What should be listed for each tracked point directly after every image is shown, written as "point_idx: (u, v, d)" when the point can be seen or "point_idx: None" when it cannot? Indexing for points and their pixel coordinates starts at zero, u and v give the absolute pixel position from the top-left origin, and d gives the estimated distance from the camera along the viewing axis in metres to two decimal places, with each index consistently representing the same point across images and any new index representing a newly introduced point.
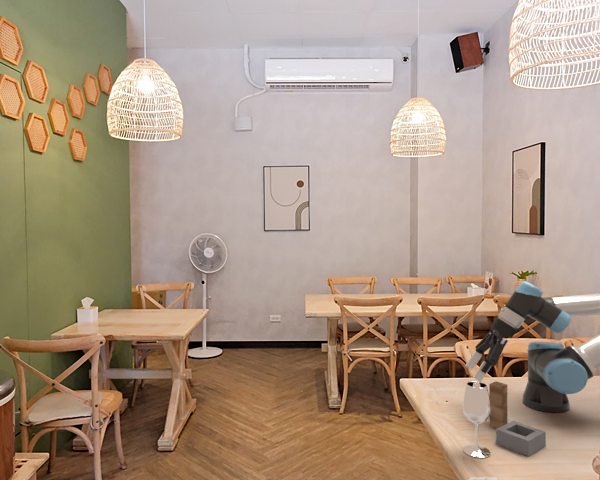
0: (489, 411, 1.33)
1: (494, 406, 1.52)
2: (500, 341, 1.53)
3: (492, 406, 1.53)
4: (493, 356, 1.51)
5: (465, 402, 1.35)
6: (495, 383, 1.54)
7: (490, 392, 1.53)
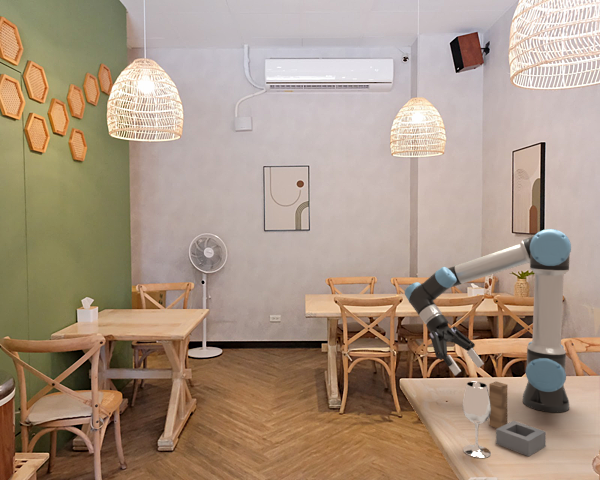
0: (489, 411, 1.33)
1: (494, 406, 1.52)
2: (431, 337, 1.66)
3: (492, 407, 1.53)
4: (435, 351, 1.62)
5: (465, 402, 1.35)
6: (495, 383, 1.54)
7: (490, 392, 1.53)
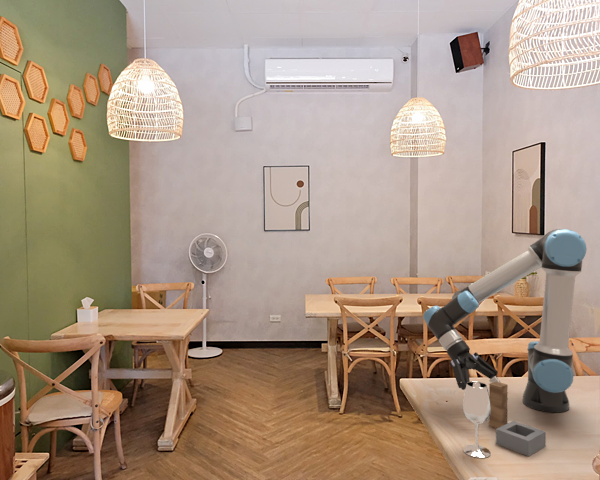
0: (489, 411, 1.33)
1: (494, 406, 1.52)
2: (452, 365, 1.59)
3: (492, 406, 1.53)
4: (457, 380, 1.54)
5: (465, 402, 1.35)
6: (495, 383, 1.54)
7: (490, 392, 1.53)
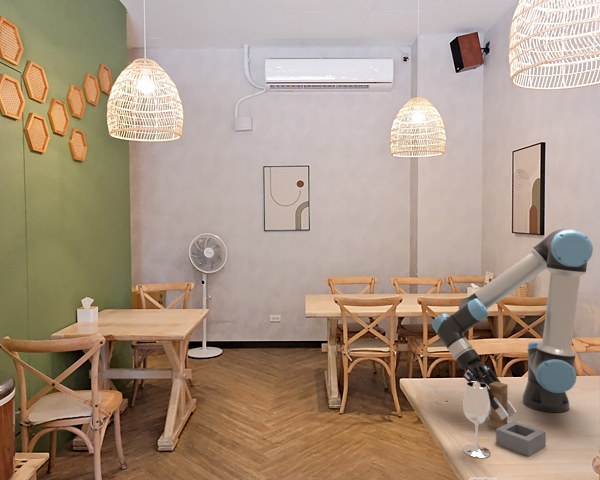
0: (489, 411, 1.33)
1: None
2: (467, 379, 1.55)
3: None
4: None
5: (465, 402, 1.35)
6: (495, 383, 1.54)
7: None
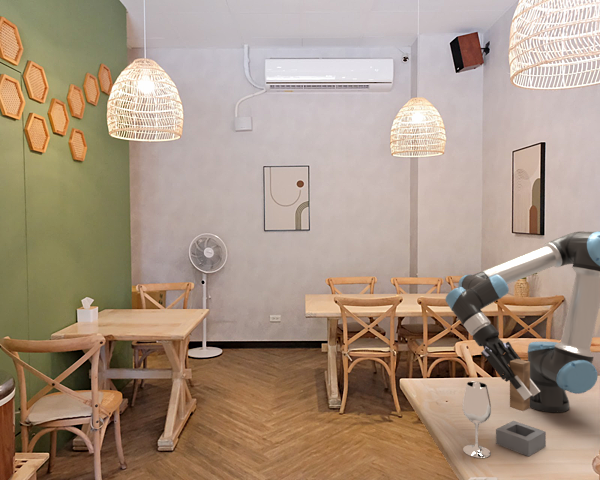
0: (489, 411, 1.33)
1: None
2: (485, 356, 1.42)
3: (512, 386, 1.40)
4: (498, 372, 1.39)
5: (465, 402, 1.35)
6: (516, 360, 1.41)
7: None
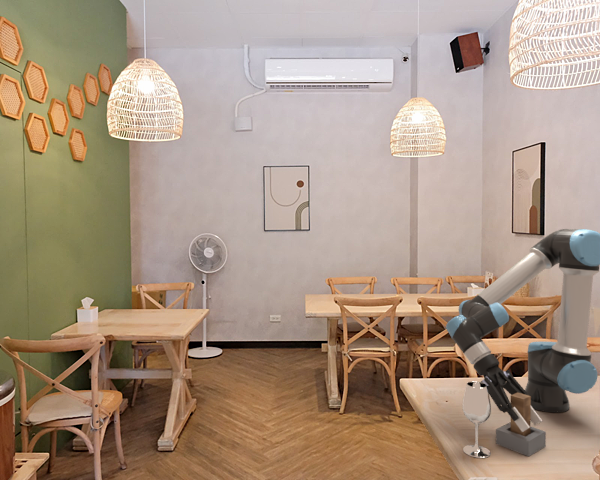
0: (489, 411, 1.33)
1: None
2: None
3: None
4: (496, 403, 1.39)
5: (465, 402, 1.35)
6: (516, 394, 1.41)
7: (511, 404, 1.40)
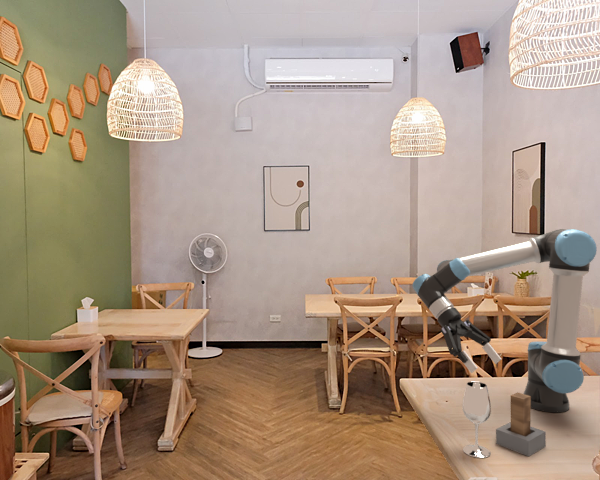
0: (489, 411, 1.33)
1: (516, 419, 1.39)
2: (443, 332, 1.53)
3: (513, 420, 1.40)
4: (449, 347, 1.48)
5: (465, 402, 1.35)
6: (516, 394, 1.41)
7: (511, 404, 1.40)
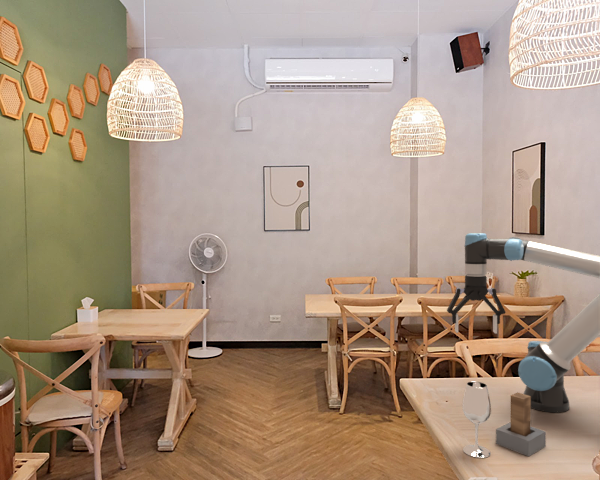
0: (489, 411, 1.33)
1: (516, 419, 1.39)
2: None
3: (513, 420, 1.40)
4: (449, 305, 1.74)
5: (465, 402, 1.35)
6: (516, 394, 1.41)
7: (511, 404, 1.40)
